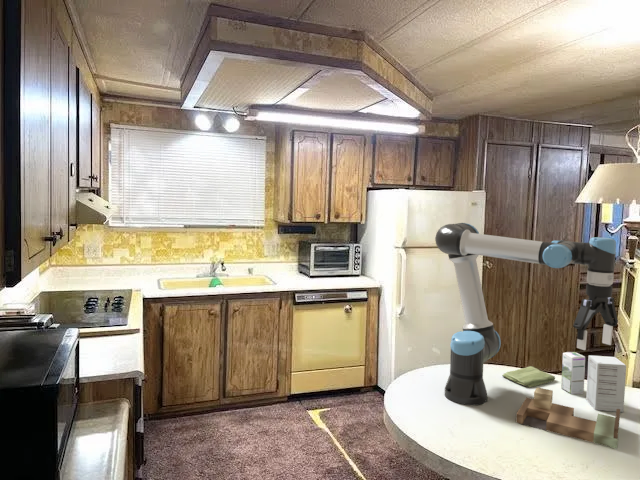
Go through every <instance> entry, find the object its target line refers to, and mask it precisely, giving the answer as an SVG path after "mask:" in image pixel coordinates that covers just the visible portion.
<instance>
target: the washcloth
mask: <svg viewBox="0 0 640 480" xmlns="http://www.w3.org/2000/svg"><path fill="white" fill-rule="evenodd" d="M502 377H503V378H504V379H507V380H509V381H512V382H514V383H515V384H520V385H523V386H524V387H527V388H534V387H537V386H538V387H539V386H541V385H545V384H549V383H551V382H554V381H555V380H556V377H555V376H554V375H552V374H551V373H549V372H548V373H547V372H545V371H542V370H540V369H538V368H537V367H535V366H527V367H522V368H519V369H515V370H510V371H507V372H505V373H503V374H502Z"/></svg>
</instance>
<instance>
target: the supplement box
mask: <svg viewBox="0 0 640 480" xmlns="http://www.w3.org/2000/svg"><path fill="white" fill-rule="evenodd" d="M587 357H588V359H587V360H588V361H587V380H586V396H585V397H586V401H587V402H588V403H589V405H590V406H591V407H592V408H593V409H594V410H596V411H604V412H605V411H607V412H615V413H616V409H620V413H624V410H625V409H624V408H625V393H626V391H625V390H626V376H627V373H626V372H627V365H626V364H625V363H624V362H623V361H621V360H620V359H618V358H617V357H616V356H605V355H604V356H602V355H592V354H591V355H588V356H587Z"/></svg>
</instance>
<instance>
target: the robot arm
mask: <svg viewBox="0 0 640 480" xmlns="http://www.w3.org/2000/svg"><path fill="white" fill-rule="evenodd" d="M434 241H435V244H436V247H437V248H438V250H439V251H441V252H442V253H444V254H445V255H448V260H449V261H450V262H452V263H453V266H454V271H455V275H456V280H457V286H458V292H459V297H460V302H461V305H462V312H463V318H464V324H463V326H462V330H461V331H457V332H455V333H453V334H452V336H451V339H450V340H451V341H450V344H449V345H450V362H449V363H450V364H449V365H450V366H449V376H448V379H447V382H446V384H445V386H444V396H445V397H446V399H448V400H450V401H452V402H454V403H457V404H461V405H469V406H477V405H482V404H484V403H486V402H487V400H488V392H487V391H488V390H487V388H486V384H485V381H484V363H485V362H487V361H489V359H492V358H494V357H495V356H496V355H497V354H498V353H499V351H500V348H501V344H502V343H501V342H502V341H501V337H500V334H499V332H497V331H496V330H495V327H494V323H493V322H492V321H491V320H489V318H488V313H487V308H486V303H485V297H484V293H483V288H482V284H481V279H480V273H479V266H478V261H477V259H478V257H479V256H483V257H489V258H490V257H491V258H497V259H504V260H511V261H516V262H517V261H518V262H522V263H523V262H524V263H530V264H536V265H537V264H539V265H542V266H543V265H544V266H547V267H550V268H553V269H561V268H565V267H567V266H568V265H571V264H572V265H584V266H587V273H586V286H585V295H587V296H588V298H587V299H585V298H584V299H581V304H580V306H579V307H580V308H579V310H578V312H577V314H576V317H575V320H574V321H573V324H572V327H573V328H574V329H577V337H576V338H577V339H576V348H577V349H579V350H583V351H586V350H587V341H588V340H587V338H588V330H587V329H588V326H589V325H590V323H591V321H592V319H593V318H594V316H595V315H597V314H598V313H600V315H601V317H602V319H603V321H604V324H603V329H602V338H601V339H602V340H601V343H602V344H604V345H607V346H612V340H613V339H612V338H613V332H614V330H613V328H614V327H617V325H618V322H619V319H618V314H617V309H616V305H615V298H614V297H613V288H614V287H613V283H614V278H615V276H614V273H615V266H616V265H615V264H616V255H617V242H616V240H615V239H614V238H610V237H598V236H596V237H590V239H589V242H580V241H571V240H570V241H569V240H552V241H551V242H548V241H540V240H531V239H523V238H517V237H515V238H514V237H508V236H499V235H492V234H491V235H490V234H483V233H479V231H478V228H476V227H475V226H474V225H472V224H471V223H466V222H458V223H448V224H445V225H443V226H441V227H440V228H439V229H438V230H437V232H436V235H435V238H434Z"/></svg>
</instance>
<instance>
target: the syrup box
mask: <svg viewBox="0 0 640 480" xmlns="http://www.w3.org/2000/svg"><path fill="white" fill-rule="evenodd" d="M561 367H562V368H561V389H562V390H564V391H565V392H566V393H568V394H570V395H579V394H585V371H586V368H585V367H586V356H585V355H583V354H580V353H578V352H576V351H566V352H562V364H561Z"/></svg>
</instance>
